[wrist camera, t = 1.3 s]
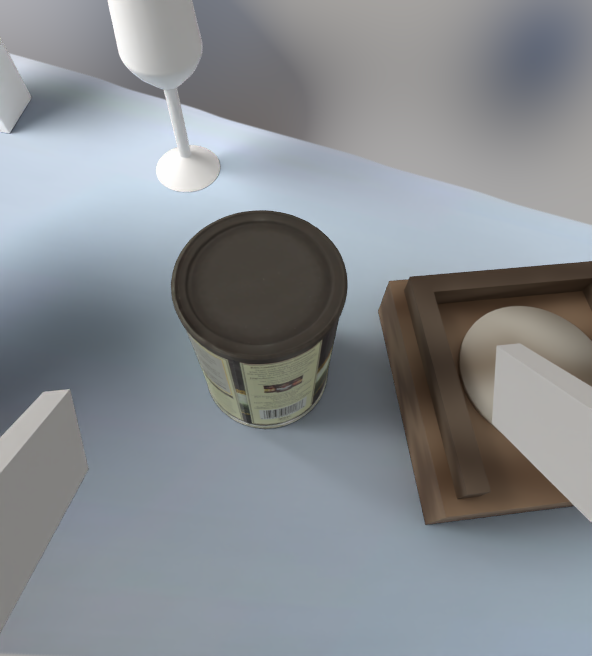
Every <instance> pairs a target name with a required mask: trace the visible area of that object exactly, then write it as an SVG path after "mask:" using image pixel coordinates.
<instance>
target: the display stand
mask: <svg viewBox="0 0 592 656" xmlns="http://www.w3.org/2000/svg"><path fill="white" fill-rule="evenodd" d="M378 313H379V317H380V322H381V326H382V331H383V335H384V340H385V344H386V349H387V353H388V358H389V362H390V367H391V371H392V376H393V380H394V385H395V389H396V394H397V398H398V403H399V407H400V412H401V416H402V421H403V425H404V430H405V434H406V439H407V444H408V448H409V453H410V457H411V462H412V466H413V471H414V475H415V480H416V484H417V489H418V493H419V498H420V502H421V507H422V511H423V516H424V520H425V525H428V524H436V523H444V522H452V521H460V520H467V519H475V518H483V517H491V516H499V515H507V514H515V513H523V512H531V511H539V510H546V509H554V508H562V507H570V506H574V505H573V504H572V503H571V502H570V501H569V500H568V499H567V498H566V497H565V496H564V495H563V494H562V493H561V492H560V491H559V490H558V489H557V488H556V487H555V486H554V485H553V484H552V483H551V482H550V481H549V480H548V479H547V478H546V477H545V476H544V475H543V474H542V473H541V472H540V471H539V470H538V469H537V468H536V467H535V466H534V465H533V464H532V463H531V462H530V461H529V460H528V459H527V458H526V457H525V456H524V455H523V454H522V453H521V452H520V451H519V450H518V449H517V448H516V447H515V446H514V445H513V444H512V443H511V442H510V441H509V440H508V439H507V438H506V437H505V436H504V435H503V434H502V433H501V432H500V431H499V430H498V429H497V428H496V427H495V426H494V425H493V424H492V413H493V397H494V380H495V364H496V347H497V345H507V344H517V343H520V344H522V345H524V346H525V347H527V348H529V349H530V350H532V351H533V352H535V353H537V354H538V355H540V356H542V357H543V358H545V359H547V360H548V361H550V362H552V363H553V364H555V365H557V366H558V367H560V368H562V369H563V370H565V371H566V372H568V373H570V374H571V375H573V376H575V377H576V378H578V379H580V380H581V381H583V382H585V383H586V384H588V385H590V386H591V387H592V261H589V262H578V263H566V264H554V265H542V266H531V267H519V268H507V269H496V270H484V271H472V272H460V273H449V274H437V275H425V276H414V277H410V278H409V279H408V280H396V281H389V283H388V286H387V288H386V291H385V294H384V297H383V299H382V302H381V305H380V307H379V310H378Z"/></svg>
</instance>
